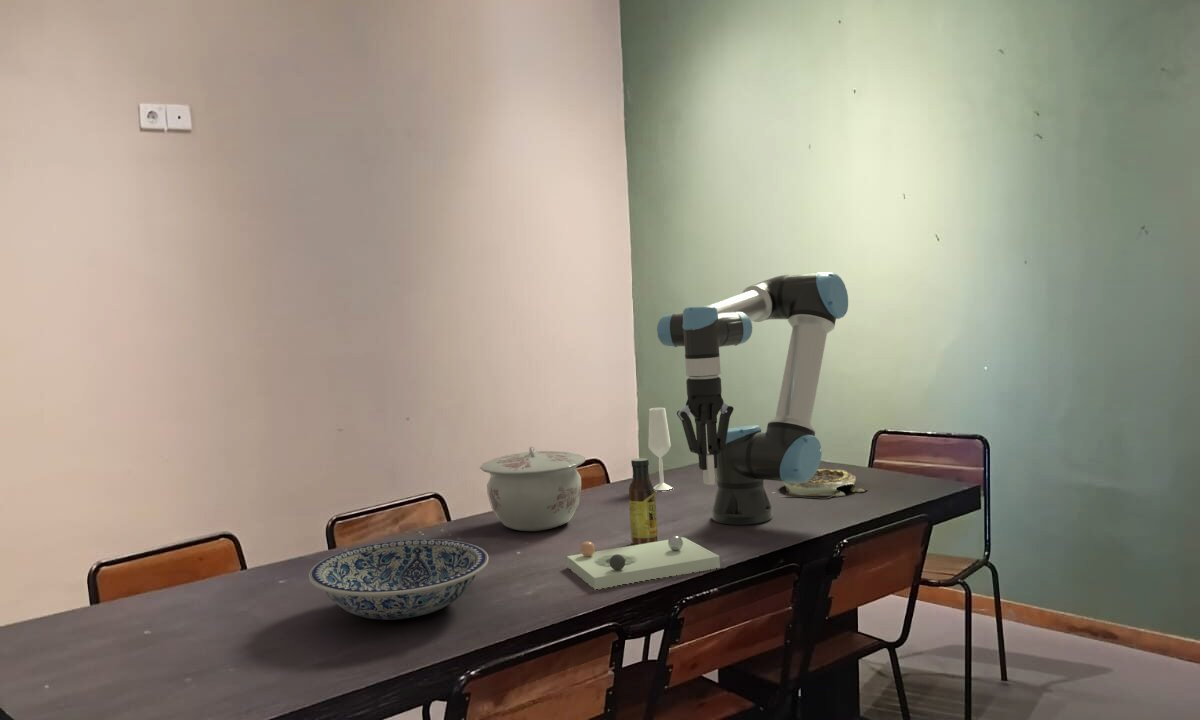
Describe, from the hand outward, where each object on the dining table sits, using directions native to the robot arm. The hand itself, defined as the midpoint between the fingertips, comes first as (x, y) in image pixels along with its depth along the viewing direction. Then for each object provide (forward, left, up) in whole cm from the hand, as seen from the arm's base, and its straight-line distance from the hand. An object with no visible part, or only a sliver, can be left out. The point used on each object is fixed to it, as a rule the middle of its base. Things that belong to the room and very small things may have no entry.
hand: (709, 483), depth 209 cm
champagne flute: (-18, -70, -16) cm, 74 cm away
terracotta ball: (+27, -7, -12) cm, 30 cm away
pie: (-55, -44, -17) cm, 73 cm away
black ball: (+25, +6, -12) cm, 28 cm away
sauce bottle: (+9, -18, -16) cm, 26 cm away
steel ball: (+9, 0, -12) cm, 15 cm away
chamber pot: (+26, -50, -16) cm, 59 cm away
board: (+17, 0, -16) cm, 23 cm away
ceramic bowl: (+68, +1, -16) cm, 70 cm away
